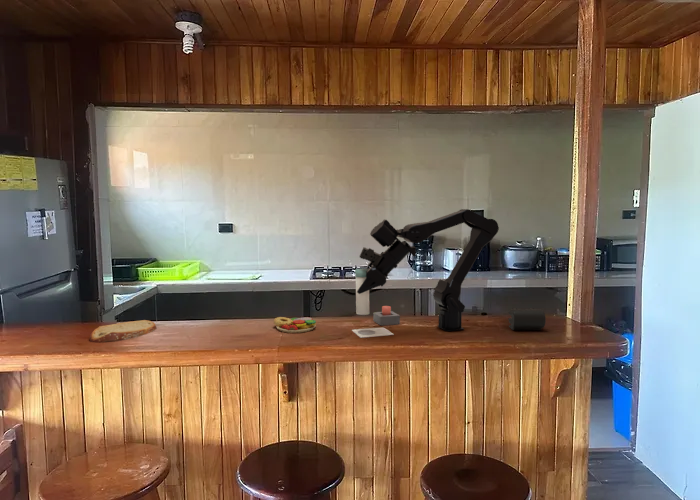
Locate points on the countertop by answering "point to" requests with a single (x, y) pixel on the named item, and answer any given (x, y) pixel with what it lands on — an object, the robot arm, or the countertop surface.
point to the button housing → (386, 318)
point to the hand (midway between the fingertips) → (358, 291)
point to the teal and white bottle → (362, 298)
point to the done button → (386, 310)
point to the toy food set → (295, 324)
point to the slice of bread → (122, 331)
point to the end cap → (527, 319)
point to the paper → (372, 332)
